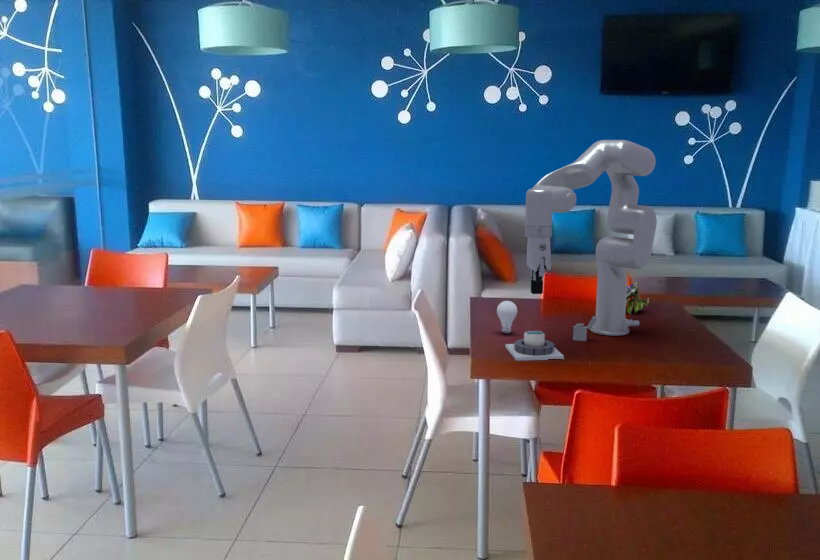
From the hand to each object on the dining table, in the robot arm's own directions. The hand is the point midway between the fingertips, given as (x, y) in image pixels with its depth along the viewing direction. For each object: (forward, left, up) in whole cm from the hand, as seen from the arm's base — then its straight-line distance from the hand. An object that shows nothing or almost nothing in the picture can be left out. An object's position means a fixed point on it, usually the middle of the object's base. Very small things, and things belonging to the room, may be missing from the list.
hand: (536, 293), depth 216 cm
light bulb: (+3, -23, -18) cm, 29 cm away
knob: (0, 0, -17) cm, 17 cm away
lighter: (-20, -13, -18) cm, 30 cm away
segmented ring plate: (0, 0, -18) cm, 18 cm away
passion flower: (-51, -52, -19) cm, 75 cm away
